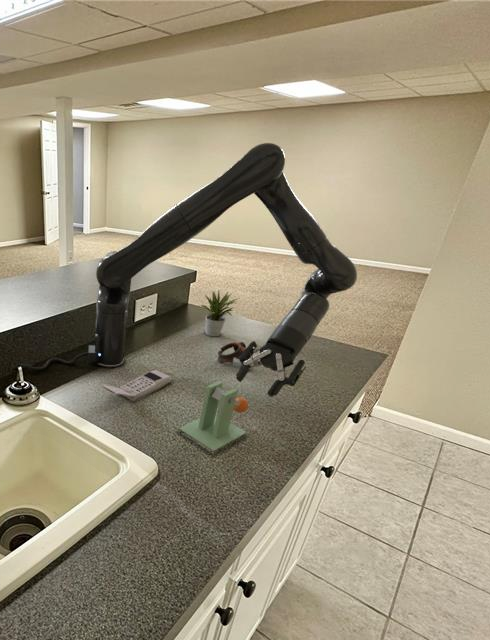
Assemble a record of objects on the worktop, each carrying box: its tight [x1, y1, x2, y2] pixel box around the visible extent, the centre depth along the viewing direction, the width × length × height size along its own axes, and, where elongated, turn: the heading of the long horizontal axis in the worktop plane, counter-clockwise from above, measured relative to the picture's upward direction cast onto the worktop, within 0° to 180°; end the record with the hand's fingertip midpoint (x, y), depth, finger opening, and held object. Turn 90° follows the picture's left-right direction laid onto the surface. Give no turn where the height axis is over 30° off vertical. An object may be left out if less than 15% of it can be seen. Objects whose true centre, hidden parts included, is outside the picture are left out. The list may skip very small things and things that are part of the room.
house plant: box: [200, 289, 238, 337], centre depth 144 cm, size 14×14×16 cm
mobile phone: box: [101, 369, 174, 402], centre depth 109 cm, size 6×6×25 cm
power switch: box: [178, 380, 248, 452], centre depth 91 cm, size 12×10×13 cm
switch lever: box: [212, 387, 249, 413], centre depth 93 cm, size 14×4×4 cm
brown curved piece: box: [217, 341, 251, 371], centre depth 127 cm, size 12×10×8 cm
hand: (253, 387), depth 97 cm, fingers open, 8 cm apart
